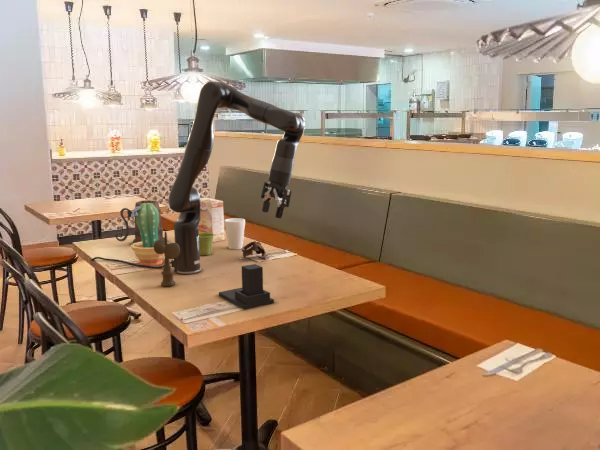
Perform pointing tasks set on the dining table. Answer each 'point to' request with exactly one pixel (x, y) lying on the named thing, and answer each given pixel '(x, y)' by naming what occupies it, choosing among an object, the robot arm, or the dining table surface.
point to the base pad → (246, 298)
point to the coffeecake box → (212, 218)
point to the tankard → (136, 231)
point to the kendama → (167, 259)
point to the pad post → (252, 279)
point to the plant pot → (205, 243)
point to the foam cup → (235, 232)
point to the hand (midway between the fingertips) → (271, 214)
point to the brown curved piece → (254, 249)
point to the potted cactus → (147, 234)
